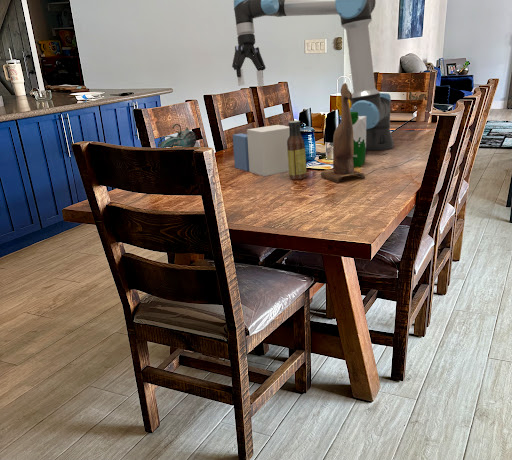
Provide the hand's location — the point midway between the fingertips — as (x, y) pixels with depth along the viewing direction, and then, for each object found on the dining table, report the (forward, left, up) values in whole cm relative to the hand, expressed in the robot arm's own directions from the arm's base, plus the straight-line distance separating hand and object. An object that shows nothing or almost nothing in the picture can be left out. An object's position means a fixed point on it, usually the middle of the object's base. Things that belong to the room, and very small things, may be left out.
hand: (251, 85), depth 223 cm
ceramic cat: (-1, +55, -29) cm, 62 cm away
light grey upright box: (-23, +29, -29) cm, 46 cm away
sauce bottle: (-42, +39, -29) cm, 64 cm away
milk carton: (-53, +14, -29) cm, 62 cm away
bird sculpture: (-57, +34, -29) cm, 72 cm away
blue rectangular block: (-15, +32, -29) cm, 46 cm away
